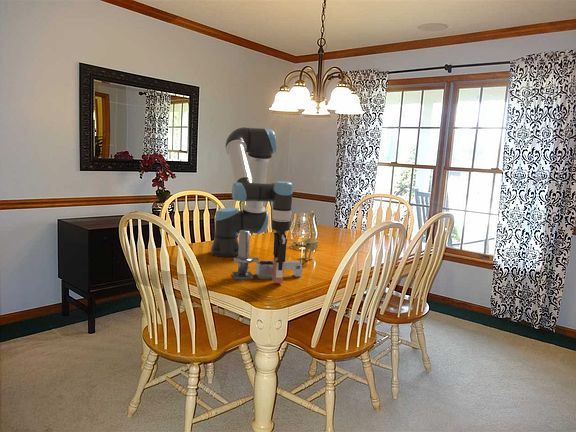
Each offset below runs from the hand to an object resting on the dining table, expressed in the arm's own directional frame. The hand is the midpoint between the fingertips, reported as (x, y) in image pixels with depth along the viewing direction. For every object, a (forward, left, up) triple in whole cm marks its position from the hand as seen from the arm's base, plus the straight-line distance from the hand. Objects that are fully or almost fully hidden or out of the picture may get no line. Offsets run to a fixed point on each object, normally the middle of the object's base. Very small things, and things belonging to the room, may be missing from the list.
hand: (277, 275), depth 186 cm
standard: (-11, -12, -4) cm, 16 cm away
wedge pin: (0, 0, -3) cm, 3 cm away
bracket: (-11, +3, -4) cm, 12 cm away
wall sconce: (-37, +24, -4) cm, 44 cm away
